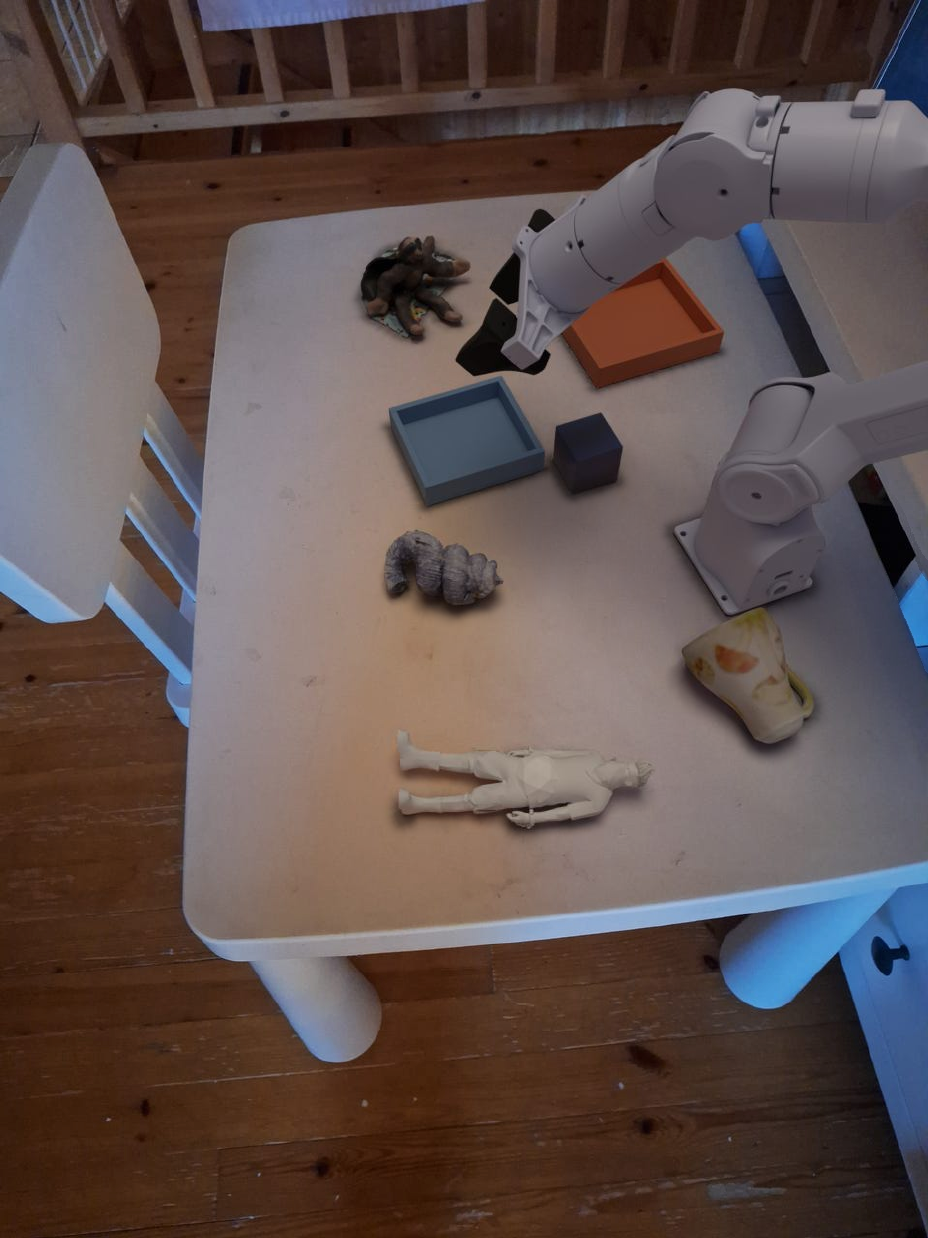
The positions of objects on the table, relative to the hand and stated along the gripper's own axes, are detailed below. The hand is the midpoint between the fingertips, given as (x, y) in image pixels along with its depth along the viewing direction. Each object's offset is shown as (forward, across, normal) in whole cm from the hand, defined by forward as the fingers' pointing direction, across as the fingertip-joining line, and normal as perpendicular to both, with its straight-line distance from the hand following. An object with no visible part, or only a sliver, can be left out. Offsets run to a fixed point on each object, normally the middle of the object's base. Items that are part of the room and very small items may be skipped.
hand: (483, 328), depth 69 cm
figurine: (+1, +30, +18) cm, 35 cm away
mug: (-7, +17, +29) cm, 35 cm away
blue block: (+6, -1, +17) cm, 18 cm away
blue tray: (+13, 0, +8) cm, 15 cm away
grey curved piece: (+10, +15, +10) cm, 21 cm away
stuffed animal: (+23, -18, 0) cm, 29 cm away
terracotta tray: (+8, -20, +17) cm, 27 cm away
